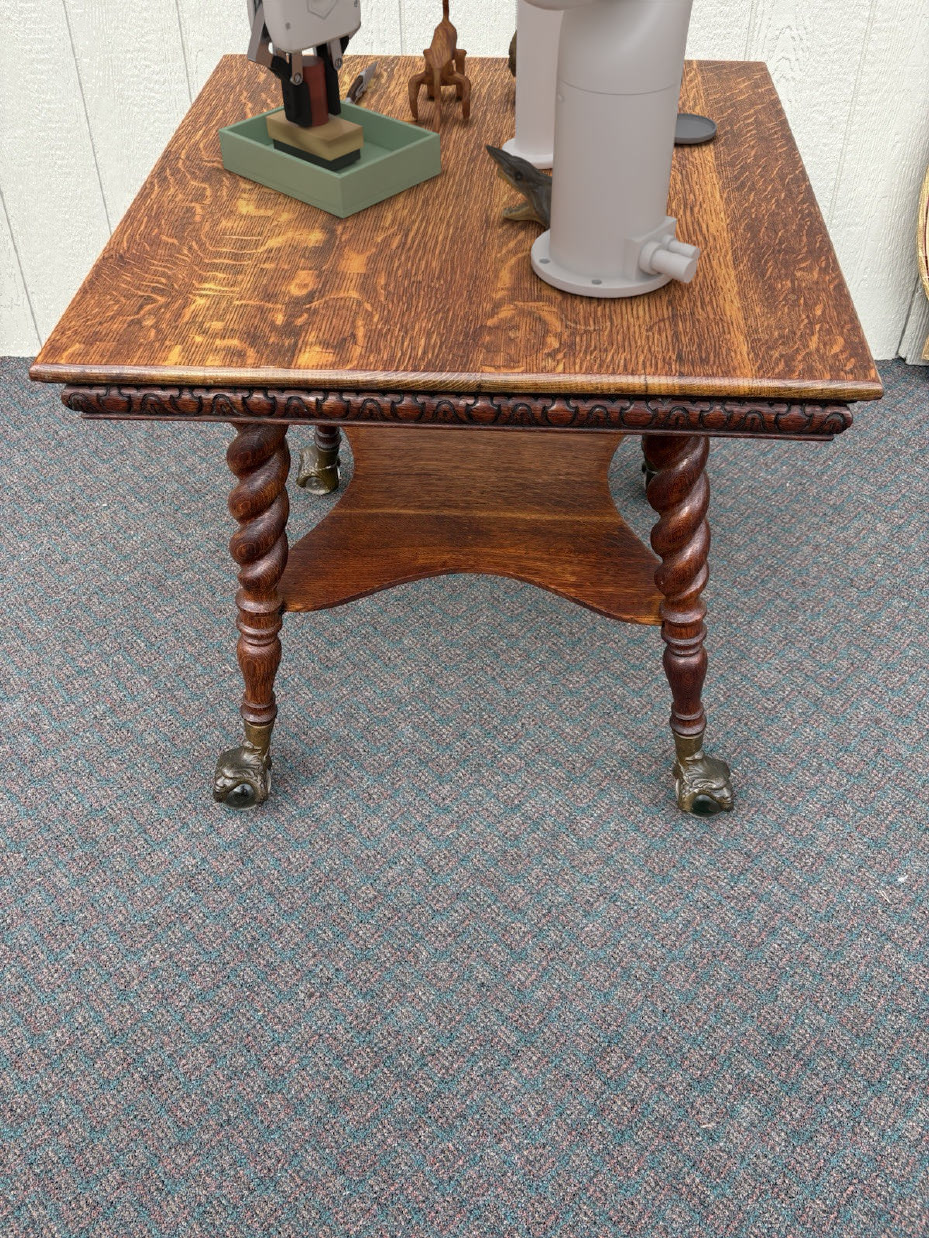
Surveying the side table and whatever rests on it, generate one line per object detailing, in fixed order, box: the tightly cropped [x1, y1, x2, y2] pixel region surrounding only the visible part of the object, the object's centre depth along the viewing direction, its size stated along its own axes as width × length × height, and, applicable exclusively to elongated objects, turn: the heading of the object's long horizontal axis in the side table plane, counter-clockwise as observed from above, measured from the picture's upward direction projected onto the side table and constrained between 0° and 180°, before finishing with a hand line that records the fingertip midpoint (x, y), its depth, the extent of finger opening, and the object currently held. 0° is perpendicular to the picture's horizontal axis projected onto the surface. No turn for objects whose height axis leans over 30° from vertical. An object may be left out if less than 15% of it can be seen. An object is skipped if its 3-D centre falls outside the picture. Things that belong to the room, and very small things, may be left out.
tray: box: [217, 99, 442, 219], centre depth 111 cm, size 17×13×4 cm
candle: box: [501, 0, 564, 170], centre depth 106 cm, size 7×7×25 cm
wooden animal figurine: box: [407, 0, 472, 134], centre depth 117 cm, size 18×7×14 cm, turn 176°
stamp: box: [266, 55, 364, 171], centre depth 109 cm, size 9×4×9 cm, turn 48°
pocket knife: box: [344, 60, 378, 105], centre depth 127 cm, size 14×1×2 cm, turn 169°
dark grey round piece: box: [674, 75, 718, 145], centre depth 115 cm, size 8×8×10 cm
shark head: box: [484, 144, 552, 231], centre depth 101 cm, size 8×6×7 cm
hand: (313, 115), depth 110 cm, fingers closed on stamp, 3 cm apart
